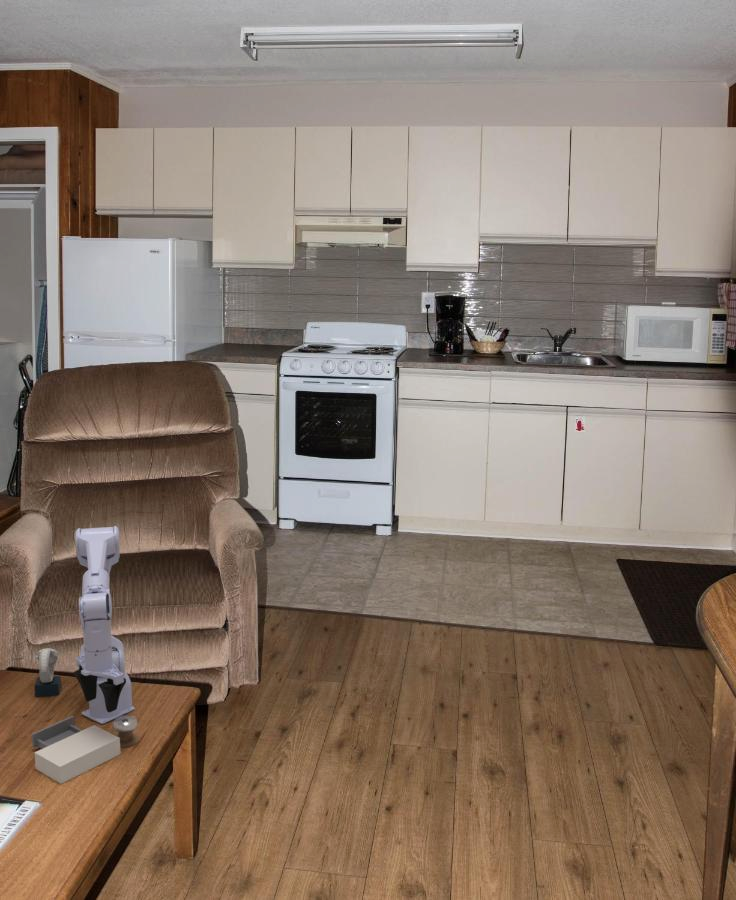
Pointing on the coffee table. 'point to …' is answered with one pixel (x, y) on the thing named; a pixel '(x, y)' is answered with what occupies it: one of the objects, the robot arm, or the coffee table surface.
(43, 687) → the watch
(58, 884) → the coffee table surface
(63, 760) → the player
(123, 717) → the disc
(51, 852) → the coffee table surface
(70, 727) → the tray
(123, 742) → the stand
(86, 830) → the coffee table surface
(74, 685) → the coffee table surface
